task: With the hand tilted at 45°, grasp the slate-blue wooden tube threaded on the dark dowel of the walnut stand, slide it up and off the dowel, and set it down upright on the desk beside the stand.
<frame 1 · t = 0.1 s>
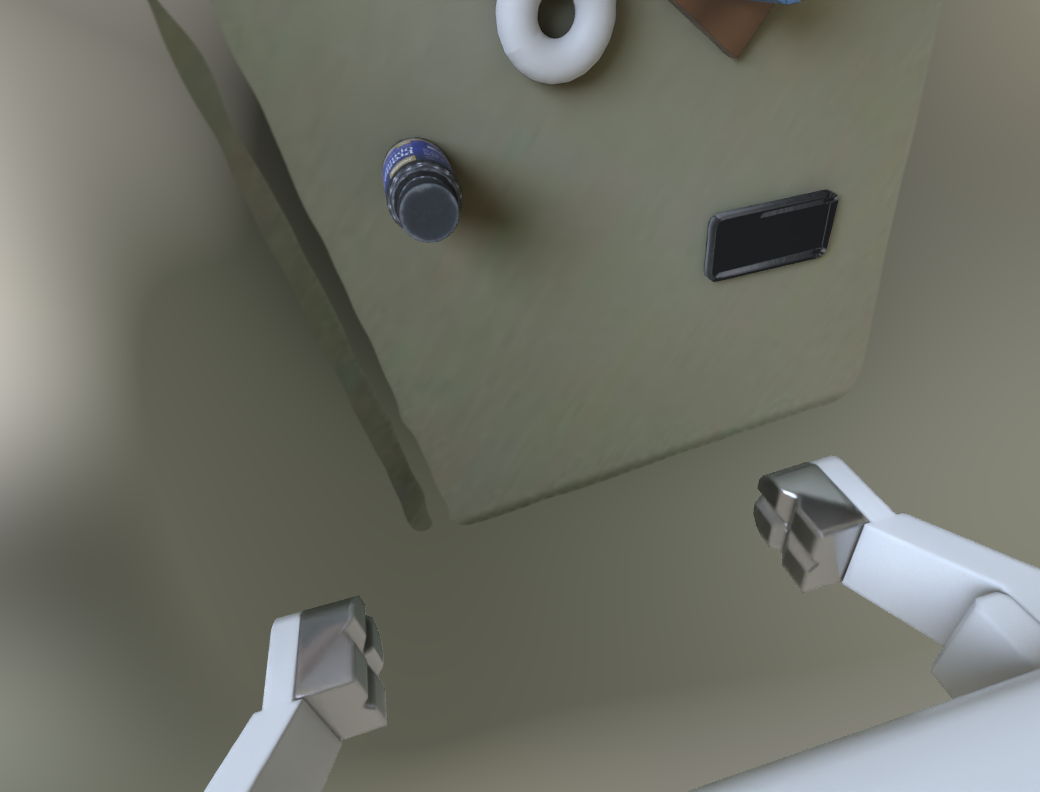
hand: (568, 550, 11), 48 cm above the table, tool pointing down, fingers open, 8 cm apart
pill bottle: (415, 171, 52), on the table
phone: (766, 233, 65), on the table
donut: (550, 12, 47), on the table
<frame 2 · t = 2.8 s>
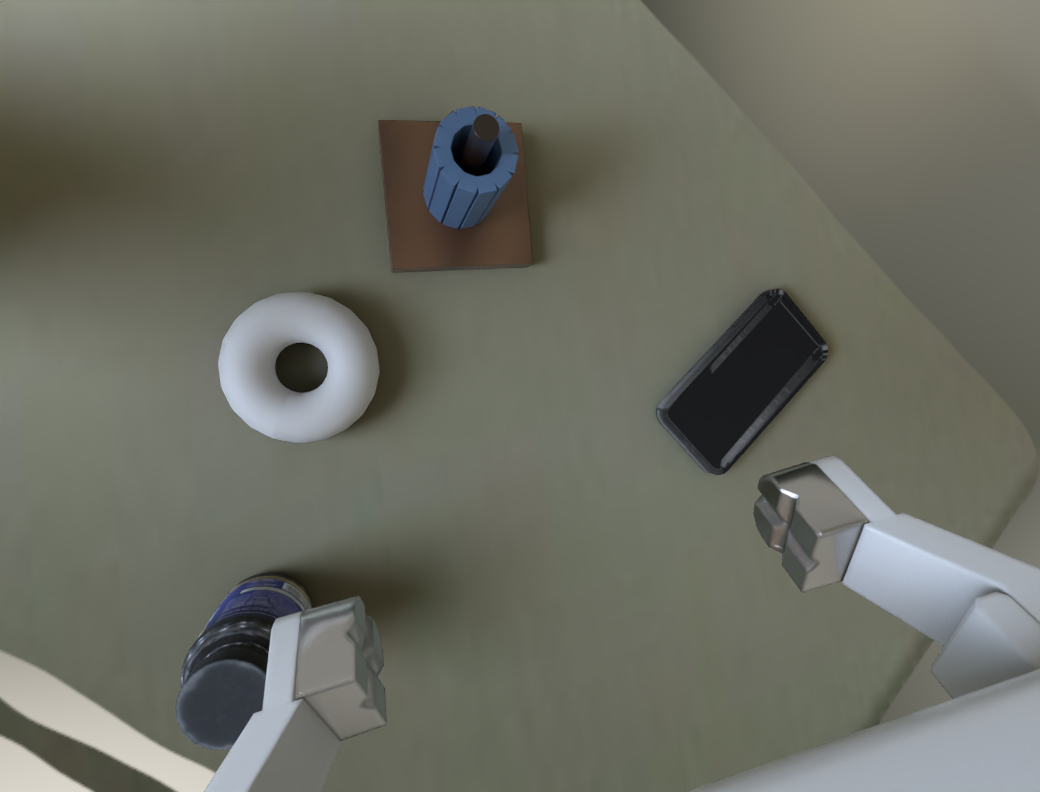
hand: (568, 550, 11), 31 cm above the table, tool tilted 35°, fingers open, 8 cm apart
pill bottle: (268, 613, 39), on the table
phone: (738, 380, 47), on the table
dowel stand: (455, 200, 41), on the table
tube: (458, 194, 40), point 1 cm above the table, touching dowel stand
donut: (305, 368, 39), on the table
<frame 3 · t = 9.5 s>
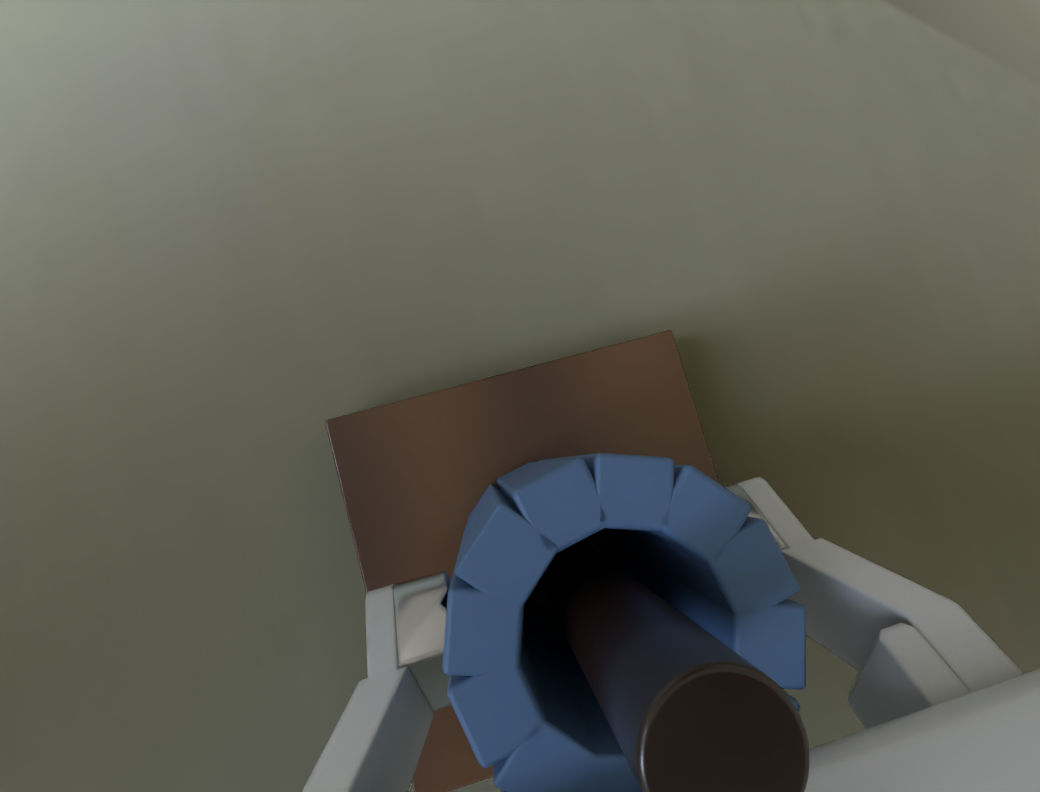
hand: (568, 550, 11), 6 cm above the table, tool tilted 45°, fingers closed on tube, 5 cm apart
dowel stand: (546, 543, 17), on the table
tube: (553, 550, 15), point 2 cm above the table, touching dowel stand, gripper
when the fingers open (4 cm above the table, at t = 20.5 s): tube stays where it is, on the table.
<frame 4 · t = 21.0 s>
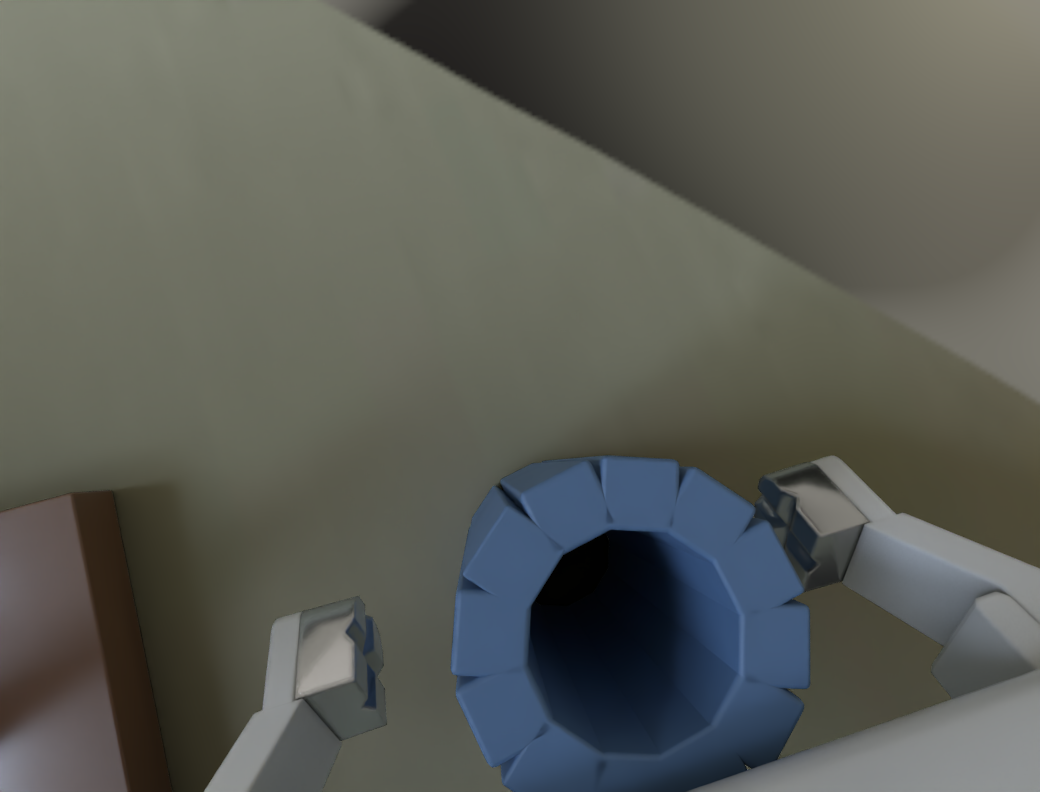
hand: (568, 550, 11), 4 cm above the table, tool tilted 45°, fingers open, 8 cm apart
tube: (556, 551, 15), on the table
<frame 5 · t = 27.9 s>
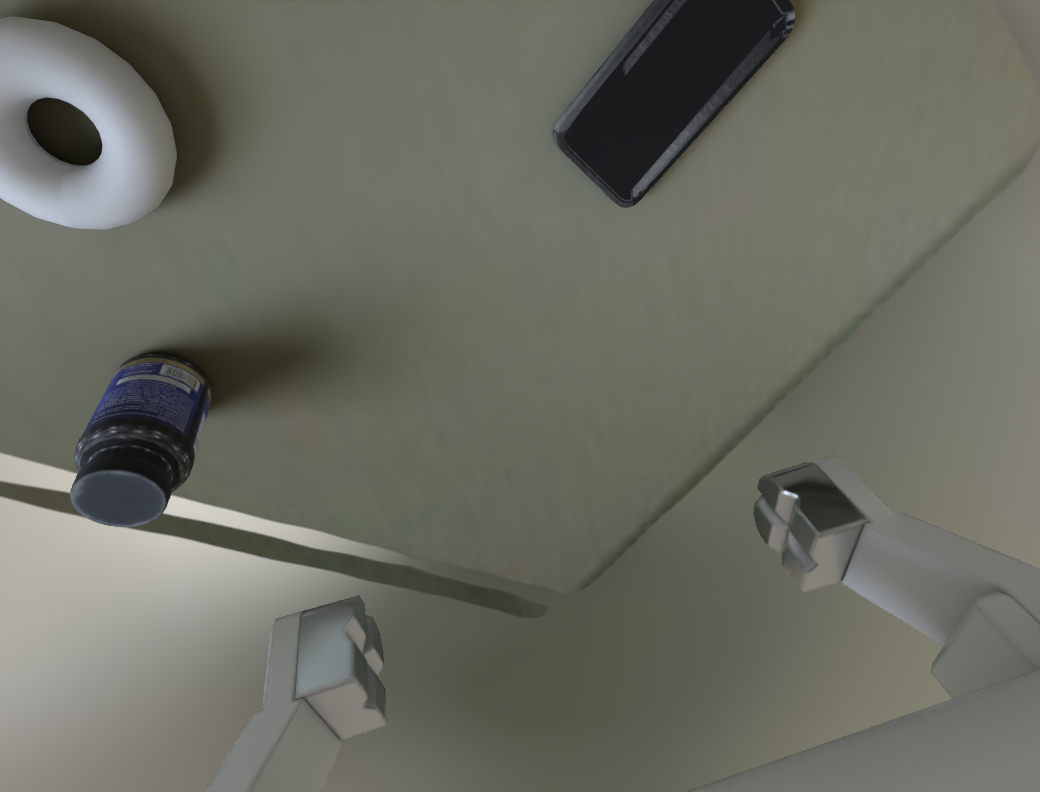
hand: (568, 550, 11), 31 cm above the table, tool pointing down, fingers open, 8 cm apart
pill bottle: (166, 385, 41), on the table
phone: (665, 77, 36), on the table
donut: (78, 124, 31), on the table
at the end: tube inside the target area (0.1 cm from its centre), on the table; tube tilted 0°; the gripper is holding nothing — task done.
